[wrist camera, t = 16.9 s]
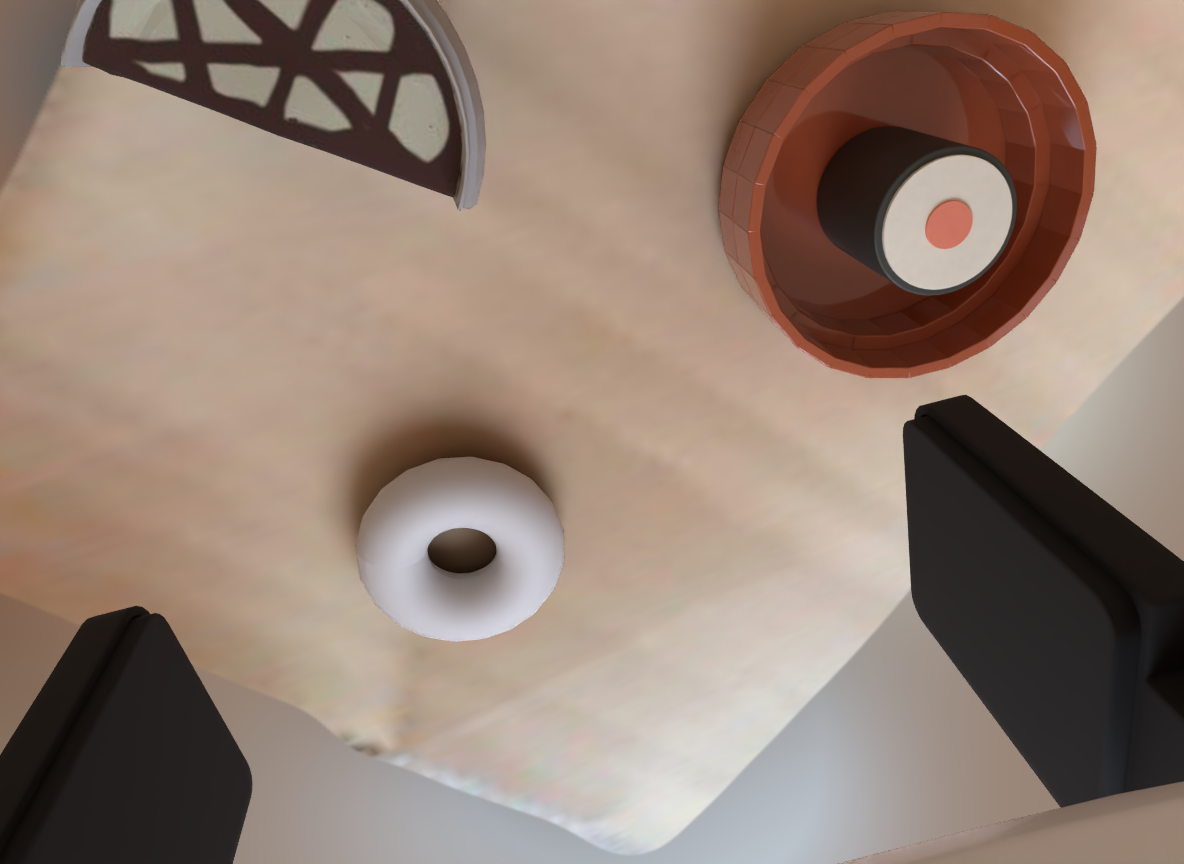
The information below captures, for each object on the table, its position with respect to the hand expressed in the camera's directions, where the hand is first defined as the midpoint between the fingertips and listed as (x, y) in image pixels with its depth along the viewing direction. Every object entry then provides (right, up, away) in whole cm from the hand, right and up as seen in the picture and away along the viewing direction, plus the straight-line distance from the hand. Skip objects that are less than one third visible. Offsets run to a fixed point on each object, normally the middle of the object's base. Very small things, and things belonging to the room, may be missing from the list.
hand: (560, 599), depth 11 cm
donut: (-6, -3, +32) cm, 33 cm away
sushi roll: (+13, +12, +27) cm, 32 cm away
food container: (-9, +18, +22) cm, 30 cm away
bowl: (+13, +13, +27) cm, 33 cm away
